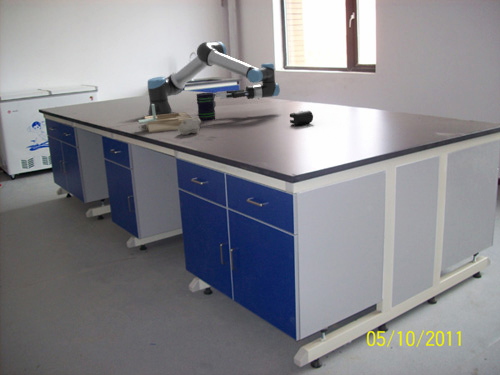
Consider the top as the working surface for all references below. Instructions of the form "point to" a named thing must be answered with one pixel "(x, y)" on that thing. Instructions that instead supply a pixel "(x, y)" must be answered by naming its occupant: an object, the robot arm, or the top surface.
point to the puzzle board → (166, 121)
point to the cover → (149, 119)
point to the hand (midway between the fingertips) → (217, 95)
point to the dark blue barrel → (206, 106)
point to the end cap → (301, 118)
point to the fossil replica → (189, 126)
